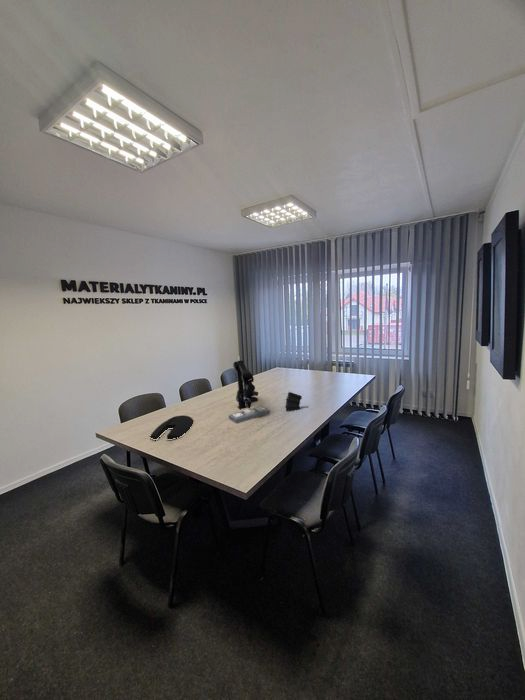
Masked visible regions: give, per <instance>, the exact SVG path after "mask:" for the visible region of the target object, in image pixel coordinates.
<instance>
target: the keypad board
mask: <svg viewBox="0 0 525 700" xmlns="http://www.w3.org/2000/svg"><path fill="white" fill-rule="evenodd" d="M258 407H263V408H265V410H262V411H257V410H255V408H258ZM252 409H254V410H255V413H252V414H249V415H248V414H246V413H244V410H242V411H239V412H235V413H231V414H228V419H229V420H230V421H232V422H233V423H235V424H240V423H244V422H246V421H249V420H252V419H256V418H258V417H263V416H265V415H269V414H270V413H271V409H269V408H266V407H264V406H262V405H260V406H256V407H253V408H252ZM237 413H241V414H243V415H244V416H242V417H238V418H235V417H234V416H233V414H237Z"/></svg>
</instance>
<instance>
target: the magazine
mask: <svg viewBox="0 0 525 700" xmlns="http://www.w3.org/2000/svg"><path fill="white" fill-rule="evenodd" d="M302 399H303V398H302V395H299V394H297V393H294V392H291V391H288V392H287V396H286V399H285V405H284V407H285V411H286V412H292V411H297V410H299V411H300V409H301V406H300V404H301V400H302Z"/></svg>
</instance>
